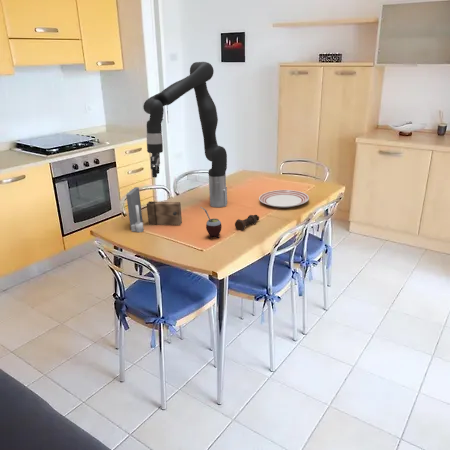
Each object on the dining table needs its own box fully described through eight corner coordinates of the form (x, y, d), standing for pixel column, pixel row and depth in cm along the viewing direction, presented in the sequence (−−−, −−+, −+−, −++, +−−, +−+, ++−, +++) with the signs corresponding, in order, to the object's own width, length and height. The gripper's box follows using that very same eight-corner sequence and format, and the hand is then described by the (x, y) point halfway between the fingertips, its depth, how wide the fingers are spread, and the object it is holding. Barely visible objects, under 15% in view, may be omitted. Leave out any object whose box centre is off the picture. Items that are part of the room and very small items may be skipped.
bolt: (258, 224, 215) (240, 233, 204) (251, 218, 216) (233, 226, 205) (263, 216, 211) (245, 224, 200) (255, 209, 213) (237, 217, 202)
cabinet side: (151, 221, 219) (148, 187, 213) (142, 232, 206) (138, 196, 199) (138, 221, 220) (134, 187, 214) (128, 232, 207) (124, 196, 200)
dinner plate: (293, 214, 222) (293, 208, 221) (249, 205, 238) (249, 199, 236) (317, 199, 242) (317, 194, 241) (275, 192, 258) (275, 187, 256)
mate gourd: (225, 236, 198) (223, 205, 192) (212, 241, 192) (211, 210, 187) (213, 232, 203) (212, 202, 197) (201, 237, 197) (199, 206, 192)
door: (182, 222, 216) (180, 201, 212) (179, 226, 211) (177, 205, 207) (151, 221, 219) (149, 201, 215) (148, 225, 214) (145, 204, 210)
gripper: (160, 144, 200) (161, 178, 205) (164, 140, 213) (165, 172, 219) (144, 144, 200) (145, 178, 205) (149, 140, 213) (150, 172, 219)
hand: (155, 175), depth 212 cm, fingers open, 8 cm apart
